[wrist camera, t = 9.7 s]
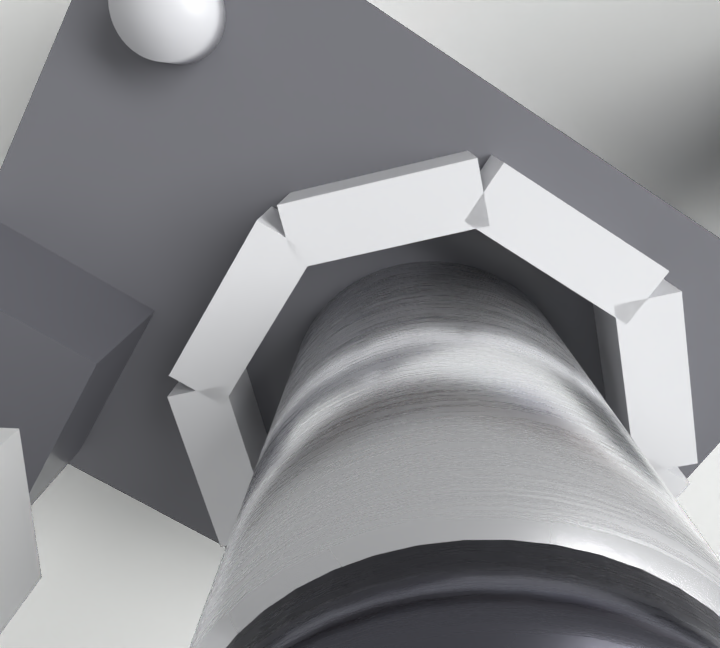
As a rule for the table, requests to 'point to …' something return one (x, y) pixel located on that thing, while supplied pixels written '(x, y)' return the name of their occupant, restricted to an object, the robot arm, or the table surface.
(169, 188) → the camera body
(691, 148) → the table surface
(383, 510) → the lens
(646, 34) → the table surface
